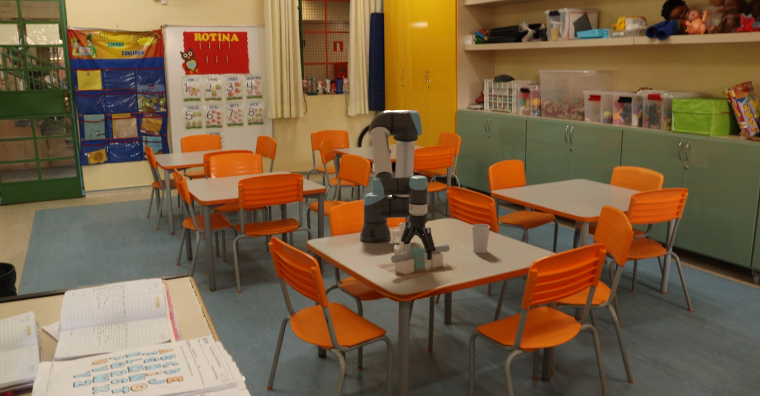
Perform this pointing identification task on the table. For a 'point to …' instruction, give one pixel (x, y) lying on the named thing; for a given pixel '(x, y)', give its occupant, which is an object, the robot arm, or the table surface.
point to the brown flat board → (416, 273)
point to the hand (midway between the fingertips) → (417, 262)
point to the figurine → (400, 248)
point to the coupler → (418, 257)
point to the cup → (480, 237)
